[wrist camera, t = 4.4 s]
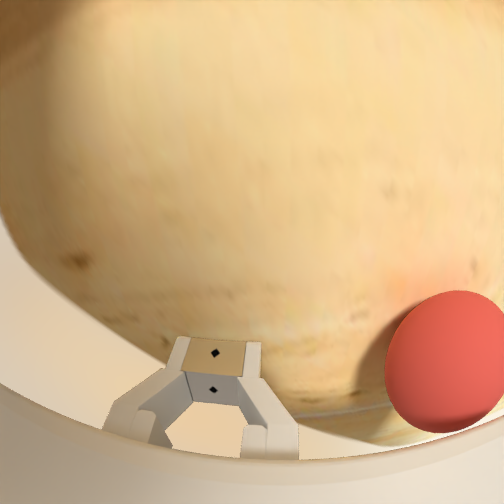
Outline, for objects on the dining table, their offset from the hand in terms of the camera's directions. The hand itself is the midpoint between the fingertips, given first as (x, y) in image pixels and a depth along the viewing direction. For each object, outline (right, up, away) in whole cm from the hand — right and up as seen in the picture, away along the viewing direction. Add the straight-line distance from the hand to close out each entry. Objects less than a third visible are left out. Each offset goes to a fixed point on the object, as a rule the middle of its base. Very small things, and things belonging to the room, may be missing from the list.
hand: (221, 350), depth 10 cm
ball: (+9, -1, -2) cm, 9 cm away
